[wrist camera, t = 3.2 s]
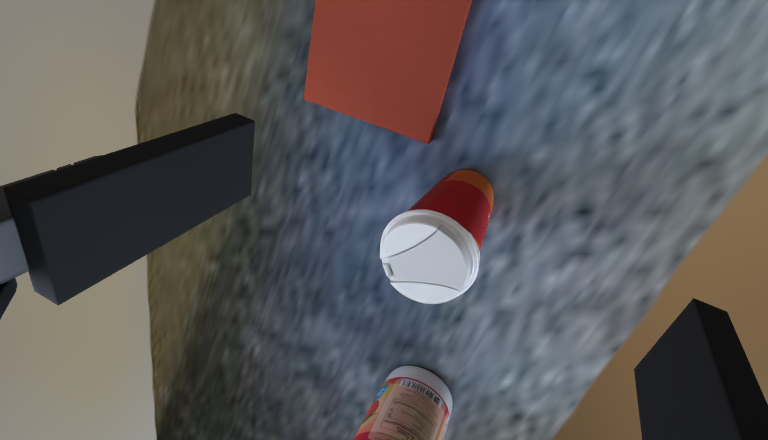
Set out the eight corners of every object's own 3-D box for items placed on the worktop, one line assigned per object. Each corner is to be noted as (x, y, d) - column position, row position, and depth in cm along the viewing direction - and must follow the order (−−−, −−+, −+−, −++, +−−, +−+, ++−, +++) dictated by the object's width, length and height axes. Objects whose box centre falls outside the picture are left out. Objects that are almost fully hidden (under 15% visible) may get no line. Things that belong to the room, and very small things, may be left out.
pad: (495, -79, 32) (493, -81, 31) (431, 141, 41) (428, 144, 41) (334, -114, 36) (328, -117, 35) (308, 97, 45) (303, 99, 44)
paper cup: (443, 236, 45) (394, 313, 34) (418, 169, 43) (358, 228, 32) (516, 222, 41) (490, 304, 30) (493, 148, 39) (456, 206, 28)
